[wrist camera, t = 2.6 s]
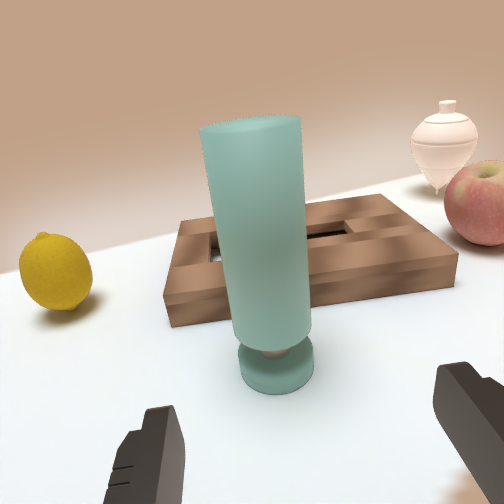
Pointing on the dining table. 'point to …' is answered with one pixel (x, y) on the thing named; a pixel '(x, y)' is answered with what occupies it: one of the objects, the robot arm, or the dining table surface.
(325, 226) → the keyhole plate
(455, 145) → the spinning top
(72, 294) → the lemon
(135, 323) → the dining table surface
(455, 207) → the apple
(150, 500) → the robot arm
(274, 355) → the headed peg
